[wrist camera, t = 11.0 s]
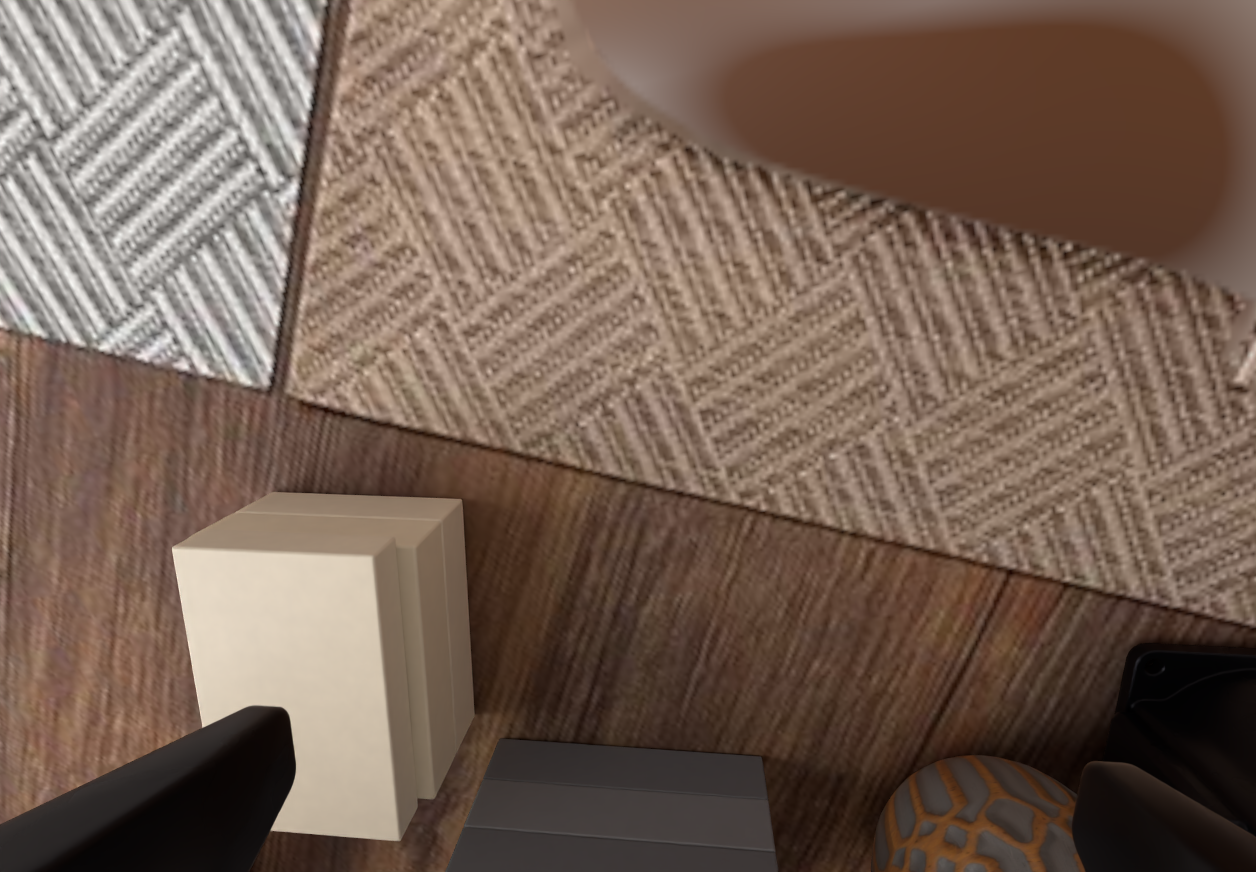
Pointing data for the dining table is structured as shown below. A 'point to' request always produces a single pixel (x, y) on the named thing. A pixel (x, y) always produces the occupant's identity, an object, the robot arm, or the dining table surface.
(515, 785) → the grey stack
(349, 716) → the beige flat block
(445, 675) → the beige rectangular block
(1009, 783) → the vase
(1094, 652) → the dining table surface
